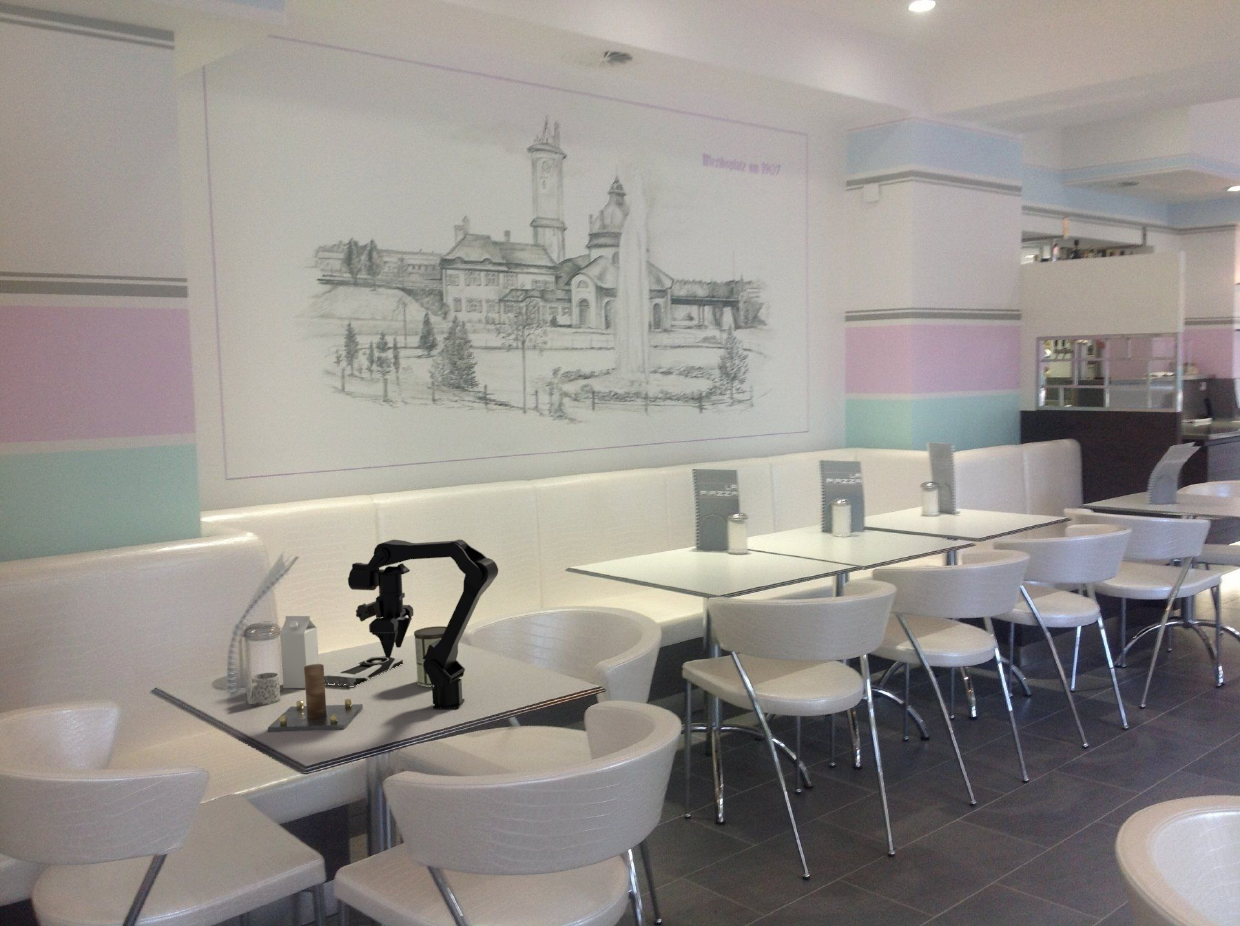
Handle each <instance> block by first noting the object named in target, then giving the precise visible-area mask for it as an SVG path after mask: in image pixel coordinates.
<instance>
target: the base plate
mask: <svg viewBox="0 0 1240 926" xmlns="http://www.w3.org/2000/svg"><path fill="white" fill-rule="evenodd" d="M362 709H363V703H359V704H358V703H357V704H352V698H346V699H344V704H331V705H329V704H326V716H324V717H320V718H308V717H307V706H306V705H305V706H304V700H297V701H296V705H295V706H293V705H292V706H290V707H288V709H286V710H285V711H284V712H283V713H282V714H281V715H280V716H279V717H278V718H277V719H276V720H274V721H273V722H272V723H271V724H269V726H268V727H267V730H268V733H269V732H291V731H292V732H295V731H323V730H329V731H330V730H345V729H346V728H347V727H348V725H349V724H350V723H351V722H352V721H353V720H354V719H355V718H356V716H358V714H359V713H360V712H361V711H362Z"/></svg>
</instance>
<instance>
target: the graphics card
mask: <svg viewBox="0 0 1240 926" xmlns="http://www.w3.org/2000/svg"><path fill="white" fill-rule="evenodd" d="M400 664H403V665H404V663H403V659H402V658H401V656H398V655H396V656H393V655H391V656H390V657H386V656H385V654H384V655H382V654H381V655H380V654H376V655H374V656H372V657H369V658H367V659H365V660H363V661H361V662H359V663H355V664H353V665H351V666H349V667H346V668H344V669H342V670H340V671H334V672H332V673H329V674H327V675H324V681H325V684H328V683H329V684H334V683H335V685H338V684H339V685H341V686H340V687H343V685H344V684H346V685H344V686H354V687H356V688H357V686H358V685H357V684H359V685H361V684H362V683H361V682H363V683H365V682H364V681H366V682H368V681H369V680H368V679H370V680H372V679H373V678H372V677H375V676H377V675H379V676H381V675H382V674H381V673H383V674H385V673H388V672H389V671H388V670H390V671H392V670H393V669H392V668H394V669H396V668H397V667H396V666H398V667H400V666H401V665H400ZM399 665H400V666H399ZM395 667H396V668H395ZM391 669H392V670H391ZM387 671H388V672H387ZM384 672H385V673H384ZM380 674H381V675H380ZM377 677H378V676H377ZM371 678H372V679H371ZM375 678H376V677H375ZM367 680H368V681H367ZM360 683H361V684H360ZM356 685H357V686H356ZM354 687H353V688H354Z"/></svg>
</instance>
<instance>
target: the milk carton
mask: <svg viewBox="0 0 1240 926" xmlns="http://www.w3.org/2000/svg"><path fill="white" fill-rule="evenodd" d="M284 618H285V620H284V623H283V625H282V628H281V630H280V632H281V634H280V633H279V639H280V655H281V669H282V686H283V688H284V689H305V674H304V667H305V666H308V665H312V664H320V660H319V659H320V657H319V643H318V628H317V626H316V625H315V624H314V623H313V622H312V620H311V616H310V615H285V617H284Z"/></svg>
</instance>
